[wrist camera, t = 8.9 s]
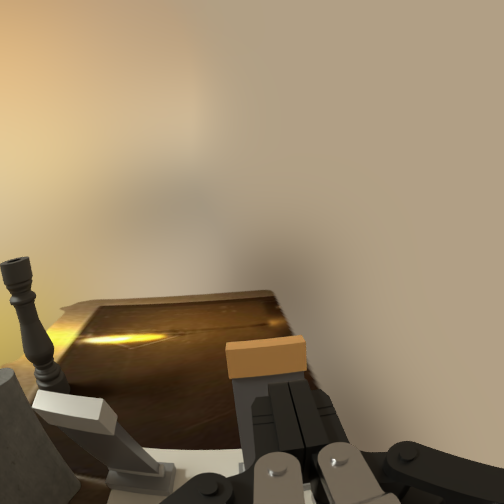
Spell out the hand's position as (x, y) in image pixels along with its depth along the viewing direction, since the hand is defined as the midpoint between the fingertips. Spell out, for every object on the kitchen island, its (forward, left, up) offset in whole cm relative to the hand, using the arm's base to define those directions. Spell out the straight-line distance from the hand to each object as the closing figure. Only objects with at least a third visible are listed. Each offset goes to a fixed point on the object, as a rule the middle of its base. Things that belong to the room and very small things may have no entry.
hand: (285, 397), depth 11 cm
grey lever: (+1, +18, -19) cm, 26 cm away
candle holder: (+5, +46, -23) cm, 52 cm away
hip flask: (-12, +23, -23) cm, 35 cm away
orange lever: (+9, +5, -19) cm, 21 cm away
